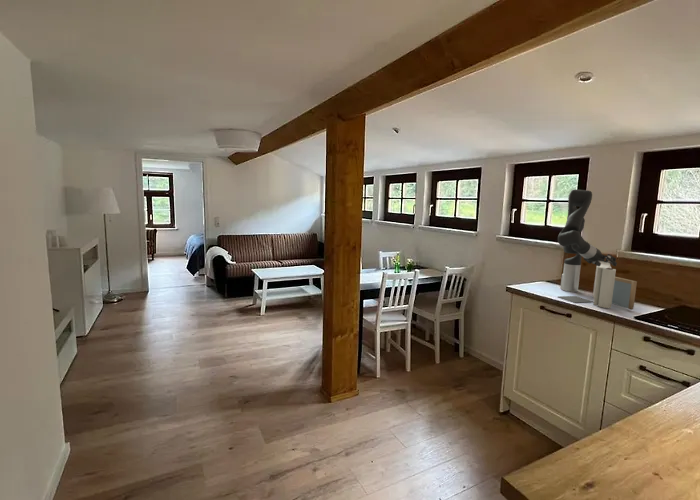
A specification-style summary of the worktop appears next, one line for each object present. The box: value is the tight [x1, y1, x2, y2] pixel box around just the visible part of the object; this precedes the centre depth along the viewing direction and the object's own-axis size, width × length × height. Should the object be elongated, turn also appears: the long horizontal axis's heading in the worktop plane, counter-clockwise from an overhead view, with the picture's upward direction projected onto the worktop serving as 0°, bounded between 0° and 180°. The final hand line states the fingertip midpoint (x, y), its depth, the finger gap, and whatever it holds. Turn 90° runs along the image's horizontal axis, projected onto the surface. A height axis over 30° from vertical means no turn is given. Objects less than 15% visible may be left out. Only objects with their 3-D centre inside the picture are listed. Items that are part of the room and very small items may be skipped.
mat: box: [557, 295, 594, 304], centre depth 219 cm, size 13×13×1 cm
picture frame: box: [612, 276, 638, 310], centre depth 205 cm, size 18×2×15 cm, turn 13°
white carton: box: [593, 268, 617, 309], centre depth 204 cm, size 7×6×21 cm
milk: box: [592, 262, 613, 298], centre depth 224 cm, size 6×6×22 cm
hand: (607, 264), depth 206 cm, fingers open, 8 cm apart
